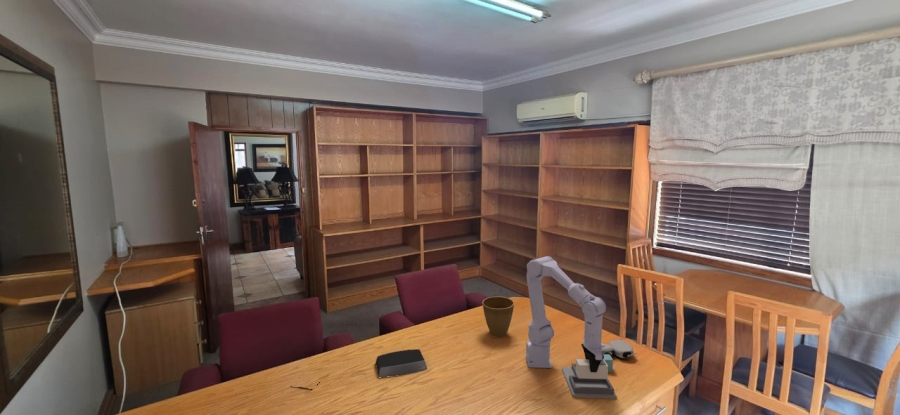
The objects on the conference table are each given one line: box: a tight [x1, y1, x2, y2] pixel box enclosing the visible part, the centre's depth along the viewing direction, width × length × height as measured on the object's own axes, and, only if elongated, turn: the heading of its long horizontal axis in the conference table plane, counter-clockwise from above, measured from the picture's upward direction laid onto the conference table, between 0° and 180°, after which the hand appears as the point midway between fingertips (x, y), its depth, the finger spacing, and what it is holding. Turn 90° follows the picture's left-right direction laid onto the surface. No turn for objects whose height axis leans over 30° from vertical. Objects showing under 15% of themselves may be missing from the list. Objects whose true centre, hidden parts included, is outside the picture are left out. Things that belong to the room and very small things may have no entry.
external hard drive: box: [375, 348, 428, 378], centre depth 149 cm, size 13×19×4 cm
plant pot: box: [482, 296, 515, 339], centre depth 174 cm, size 15×15×16 cm
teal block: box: [603, 354, 614, 373], centre depth 145 cm, size 4×4×5 cm
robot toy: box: [601, 338, 638, 359], centre depth 156 cm, size 12×4×15 cm
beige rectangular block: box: [575, 358, 609, 379], centre depth 131 cm, size 10×4×5 cm, turn 86°
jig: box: [561, 362, 618, 400], centre depth 136 cm, size 15×17×3 cm
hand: (591, 368), depth 131 cm, fingers closed on beige rectangular block, 4 cm apart
